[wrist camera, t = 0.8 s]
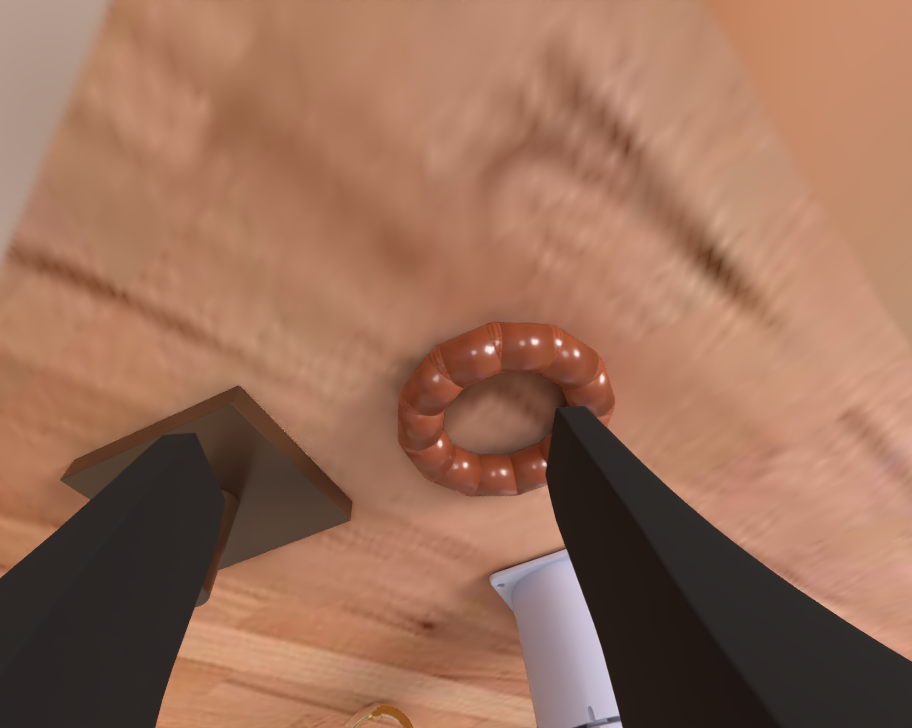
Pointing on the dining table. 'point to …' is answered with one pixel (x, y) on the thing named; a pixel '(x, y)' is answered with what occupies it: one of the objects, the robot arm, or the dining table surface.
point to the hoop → (475, 362)
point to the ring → (378, 715)
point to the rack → (235, 478)
